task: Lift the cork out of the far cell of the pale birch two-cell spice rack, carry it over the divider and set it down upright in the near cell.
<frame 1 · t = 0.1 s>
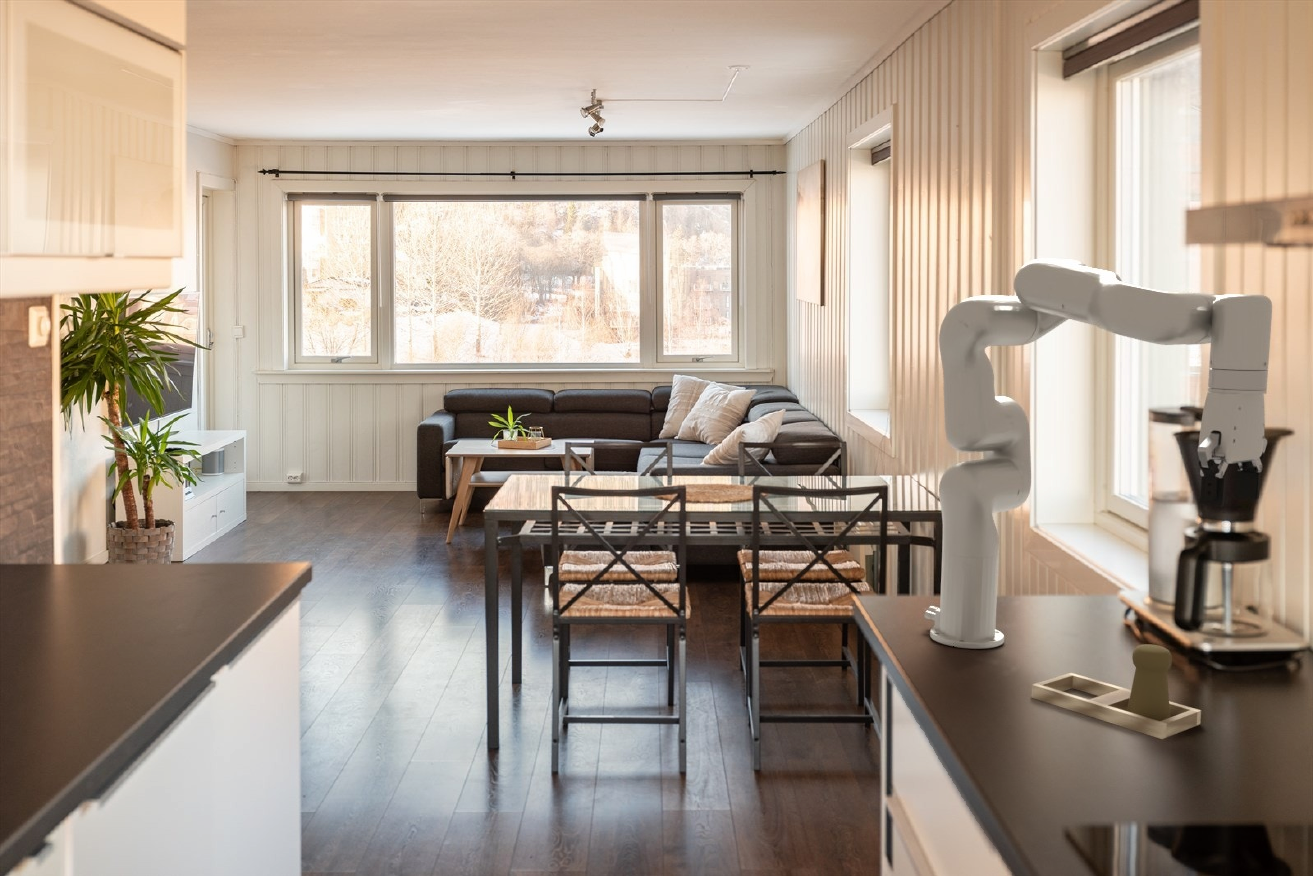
hand: (1229, 501, 172), 31 cm above the kitchen counter, tool pointing down, fingers open, 9 cm apart
spice rack: (1113, 710, 176), on the kitchen counter
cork: (1148, 722, 171), resting in spice rack
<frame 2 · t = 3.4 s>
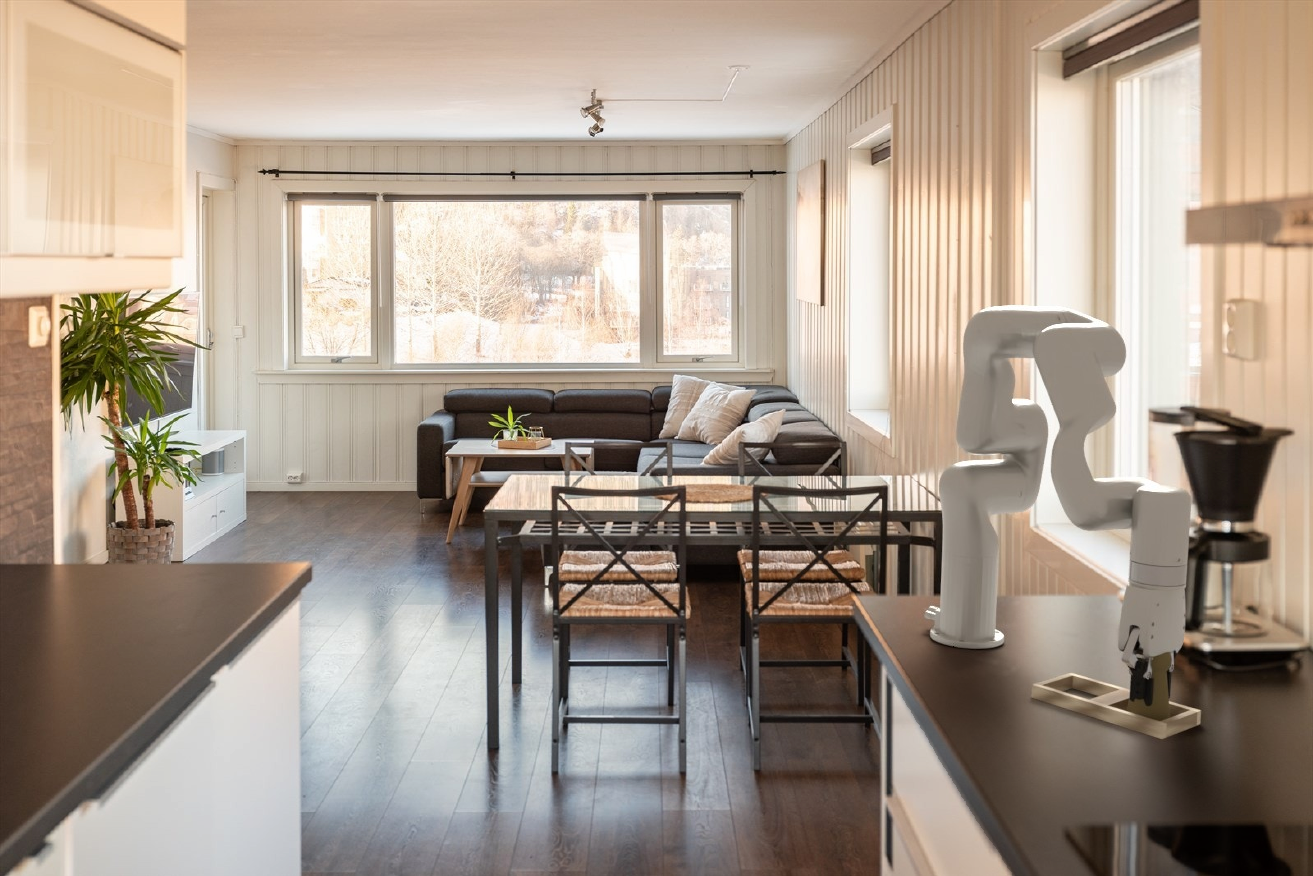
hand: (1149, 699, 171), 3 cm above the kitchen counter, tool pointing down, fingers closed on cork, 3 cm apart
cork: (1147, 722, 171), resting in spice rack, touching gripper
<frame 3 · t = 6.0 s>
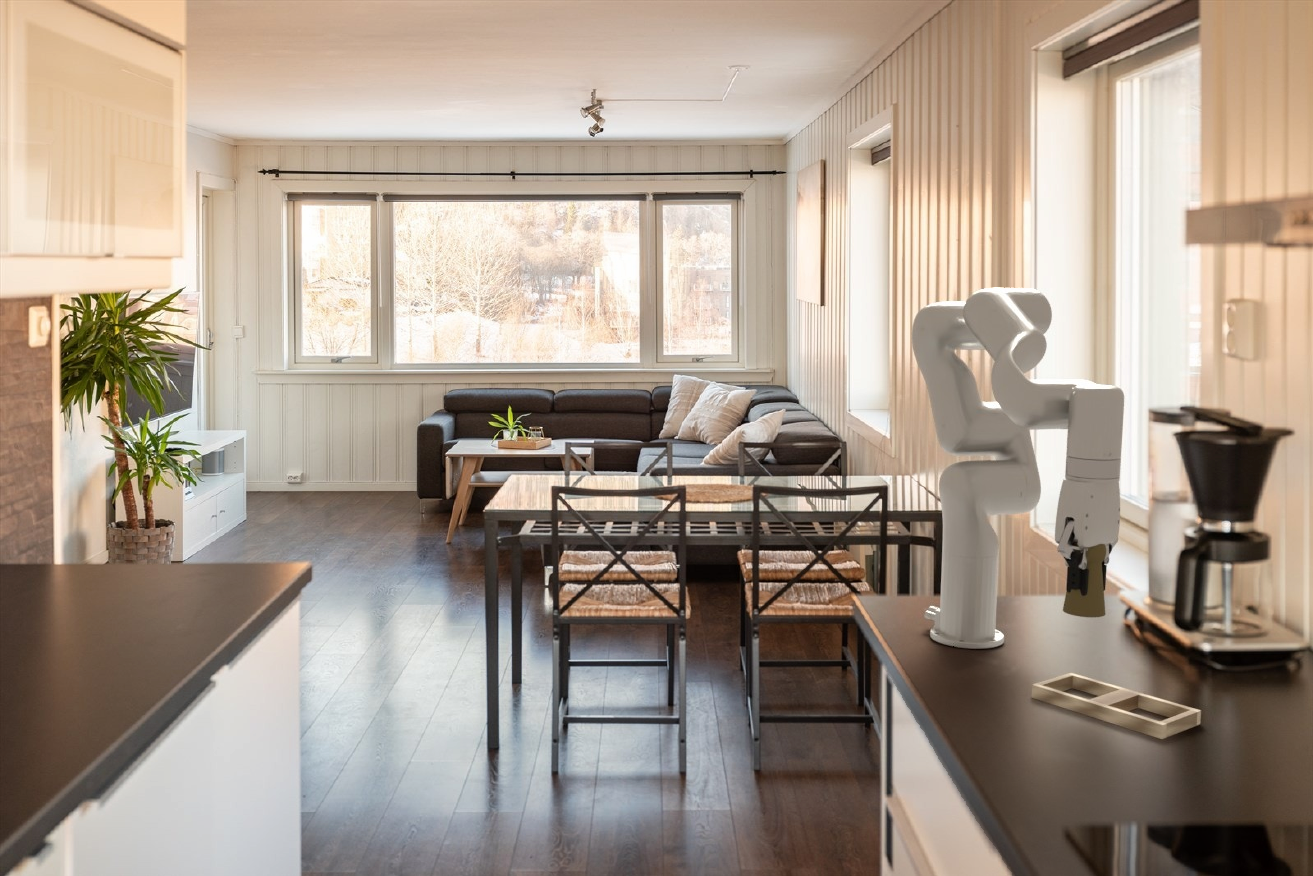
hand: (1085, 590, 178), 17 cm above the kitchen counter, tool pointing down, fingers closed on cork, 3 cm apart
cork: (1083, 613, 178), point 13 cm above the kitchen counter, touching gripper
when the fingers open (5 cm above the kitchen counter, at t = 8.9 s): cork drops 1 cm, resting in spice rack.
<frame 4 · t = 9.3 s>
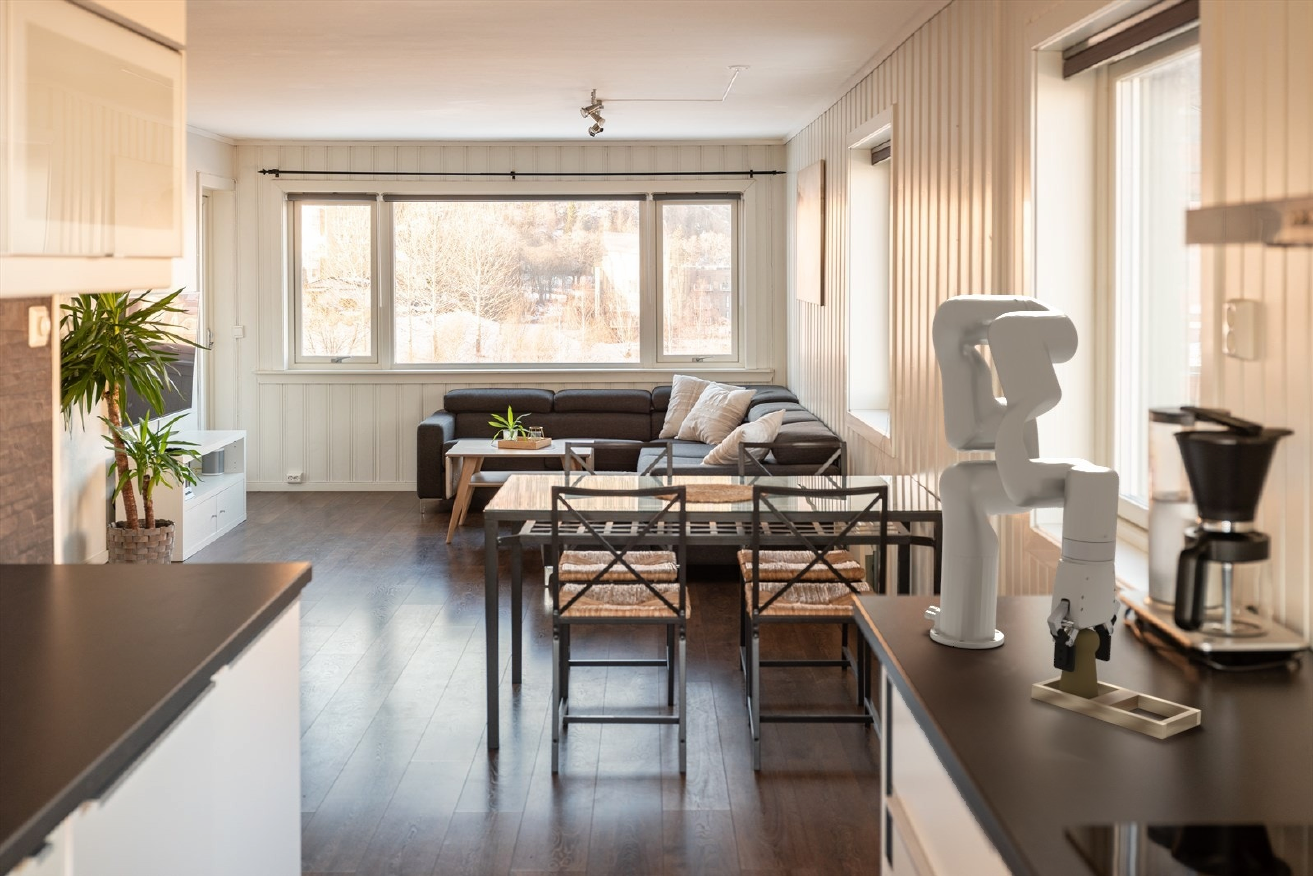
hand: (1081, 664, 179), 6 cm above the kitchen counter, tool pointing down, fingers open, 8 cm apart
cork: (1077, 701, 180), resting in spice rack
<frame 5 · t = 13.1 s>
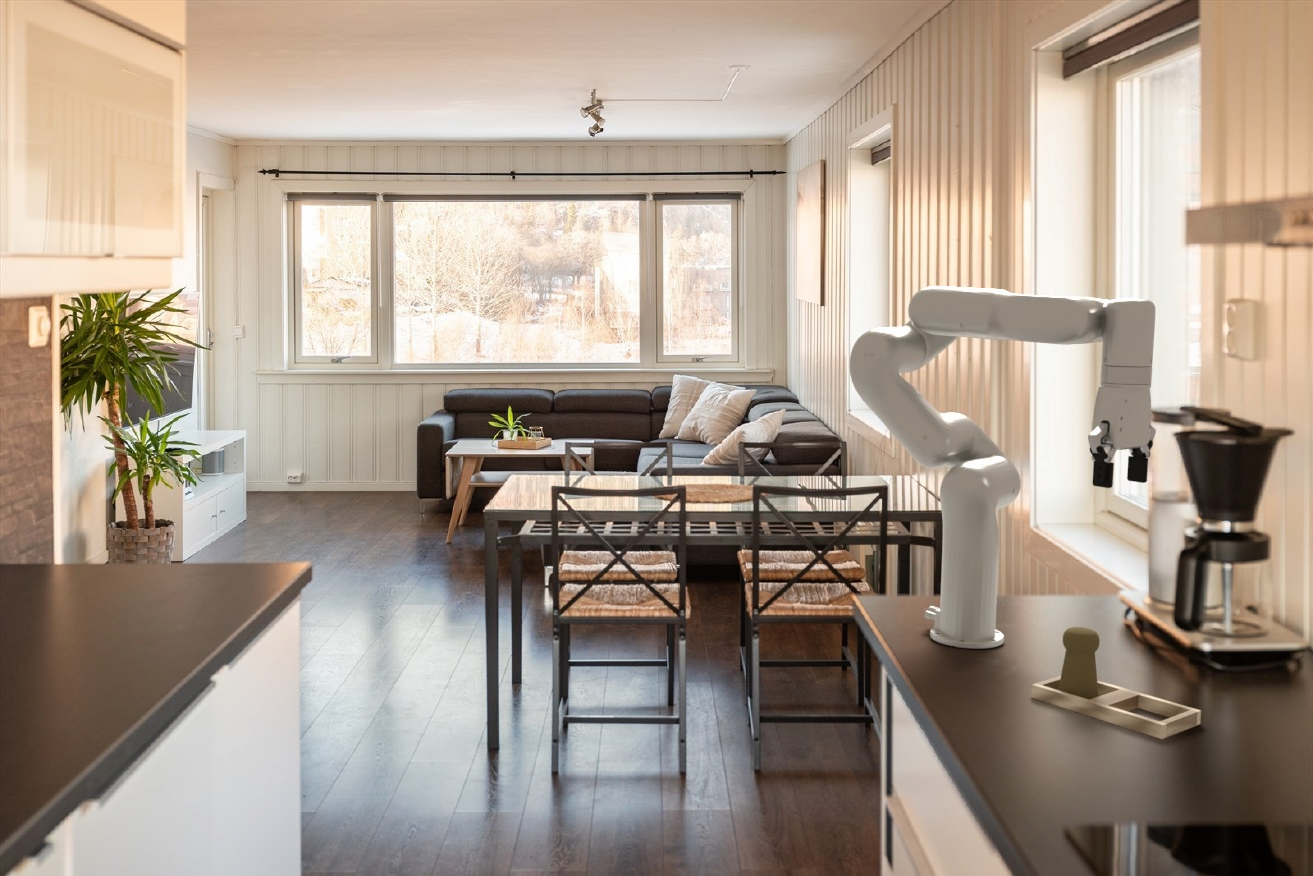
hand: (1119, 484, 192), 30 cm above the kitchen counter, tool pointing down, fingers open, 9 cm apart
nothing on the kitchen counter moved.
at the end: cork inside the target area on the spice rack (0.4 cm from its centre), point 0.0 cm above the spice rack's base; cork tilted 0°; the gripper is holding nothing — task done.
